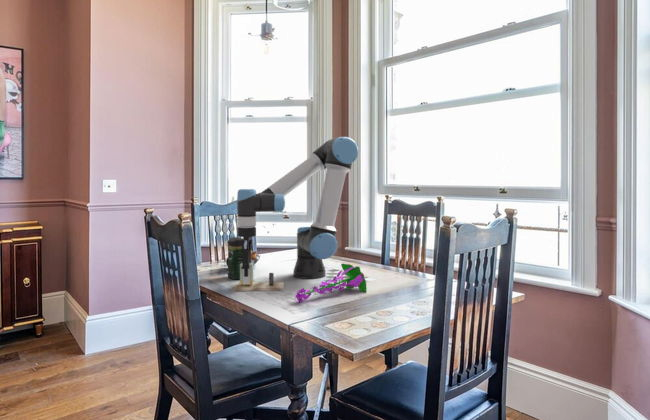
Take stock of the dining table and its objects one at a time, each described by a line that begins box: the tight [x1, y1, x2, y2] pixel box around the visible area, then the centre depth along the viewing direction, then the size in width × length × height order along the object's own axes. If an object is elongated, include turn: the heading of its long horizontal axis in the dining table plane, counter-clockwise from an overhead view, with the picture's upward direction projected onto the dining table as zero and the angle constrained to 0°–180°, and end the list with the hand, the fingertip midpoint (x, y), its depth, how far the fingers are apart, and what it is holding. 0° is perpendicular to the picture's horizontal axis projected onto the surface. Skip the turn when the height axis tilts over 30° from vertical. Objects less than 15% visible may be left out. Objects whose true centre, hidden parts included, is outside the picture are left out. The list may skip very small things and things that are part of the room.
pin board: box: [232, 272, 284, 292], centre depth 176 cm, size 20×10×6 cm, turn 95°
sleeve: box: [239, 263, 254, 285], centre depth 175 cm, size 5×5×8 cm
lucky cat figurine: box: [225, 249, 261, 268], centre depth 211 cm, size 15×12×14 cm
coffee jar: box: [227, 236, 243, 280], centre depth 194 cm, size 10×8×19 cm
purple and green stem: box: [295, 263, 367, 303], centre depth 165 cm, size 12×16×35 cm
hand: (247, 282), depth 176 cm, fingers closed on sleeve, 5 cm apart
